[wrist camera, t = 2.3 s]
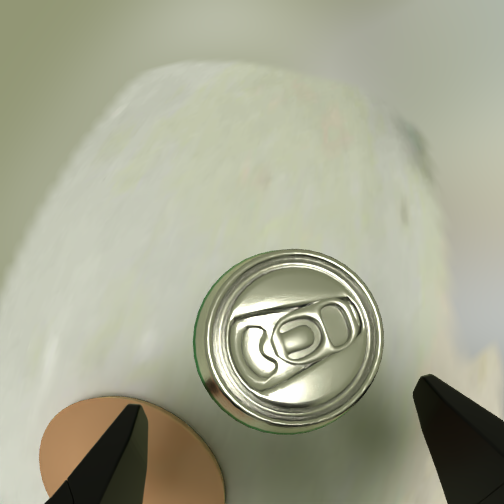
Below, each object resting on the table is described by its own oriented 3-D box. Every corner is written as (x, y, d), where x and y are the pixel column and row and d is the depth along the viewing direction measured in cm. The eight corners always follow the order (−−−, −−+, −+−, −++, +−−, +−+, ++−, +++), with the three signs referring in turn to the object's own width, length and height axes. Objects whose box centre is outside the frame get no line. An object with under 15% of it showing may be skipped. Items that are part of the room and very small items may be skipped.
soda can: (205, 328, 19) (161, 268, 7) (284, 303, 19) (351, 211, 8) (232, 407, 17) (229, 473, 6) (312, 379, 18) (422, 388, 7)
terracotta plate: (256, 529, 14) (258, 540, 12) (101, 557, 12) (94, 566, 10) (174, 371, 17) (169, 371, 16) (27, 416, 15) (14, 418, 14)
